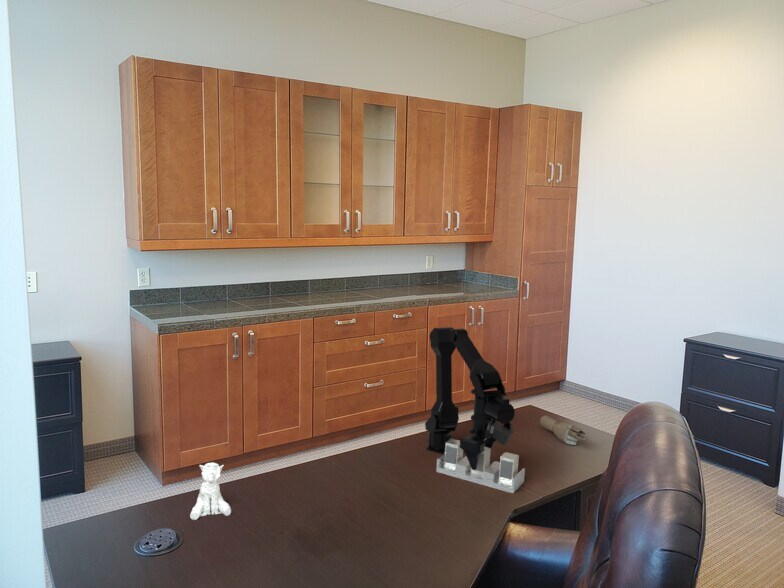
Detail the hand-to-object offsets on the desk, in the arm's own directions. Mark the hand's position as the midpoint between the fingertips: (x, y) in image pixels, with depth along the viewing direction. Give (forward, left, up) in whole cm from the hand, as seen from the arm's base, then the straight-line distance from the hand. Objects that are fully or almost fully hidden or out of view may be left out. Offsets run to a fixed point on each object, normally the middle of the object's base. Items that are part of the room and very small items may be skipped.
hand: (480, 464), depth 176 cm
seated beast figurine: (-47, -59, -4) cm, 75 cm away
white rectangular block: (0, 0, -2) cm, 2 cm away
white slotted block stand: (0, 0, -4) cm, 4 cm away
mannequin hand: (+12, +46, -4) cm, 48 cm away
